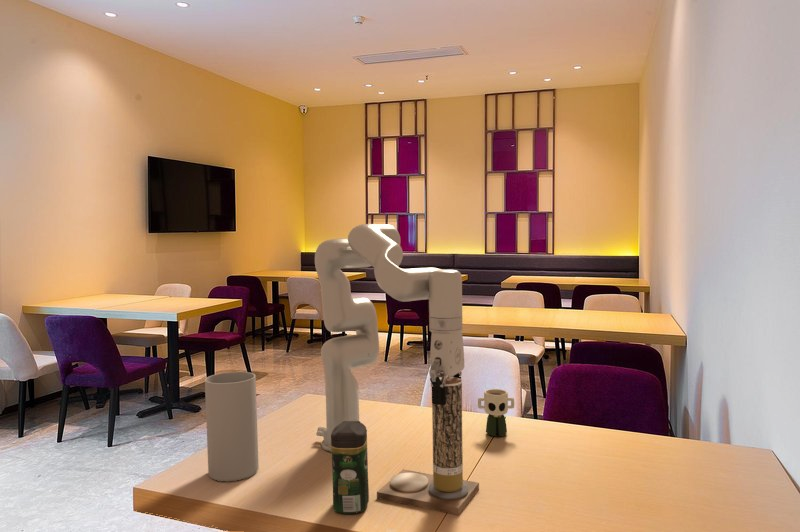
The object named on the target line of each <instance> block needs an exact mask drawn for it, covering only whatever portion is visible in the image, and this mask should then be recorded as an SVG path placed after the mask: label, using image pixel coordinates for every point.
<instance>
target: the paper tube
mask: <svg viewBox="0 0 800 532" xmlns="http://www.w3.org/2000/svg"><path fill="white" fill-rule="evenodd" d="M439 378H440V380H441V379H442V378H441V377H439ZM444 387H446V404H445V405H437V404H432V403H431V405H432V406H431V408H432V409H431V411H432V412H431V413H432V415H431V416H432V473H433V474H432V475H433V484H434V487H435V488H436V489H437V490H439V491H442V492H455V491H458V490H460V489H461V487H462V486H463V480H464V478H463V477H464V476H463V472H464V471H463V468H464V467H463V465H464V462H463V382H462V378H461V379H460V378H457V377H448V376H447V377H446V381H445V385H444Z"/></svg>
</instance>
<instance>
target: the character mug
mask: <svg viewBox="0 0 800 532" xmlns="http://www.w3.org/2000/svg"><path fill="white" fill-rule="evenodd" d="M509 401H510V405H509ZM482 402H483V404H482ZM477 408H478V409H482V410H483V411H484V412H485V413H486V414H488V415H487V418H486V426H485V432H486V434H487V435H489V436H493V437H496V436H497V434H498V436H499V437H503V436H506V435H507V433H508V429H507V423H506V422H507V420H506V416H505V415H506V414H507V413H508V411H509V410H510V409H514V408H515V398H514V397H509V392H508V391H507V390H504V389H500V388H499V389H498V388H490V389H486V390H484V392H483V397H478V398H477Z"/></svg>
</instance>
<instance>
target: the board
mask: <svg viewBox="0 0 800 532" xmlns="http://www.w3.org/2000/svg"><path fill="white" fill-rule="evenodd" d="M479 490H480V482H476V481H472V480H471V481H470V480H466V479H463V486H462V487H461V489H460V490H458V491H455V492H442V491H439V490H437V489H436V488H435V487H434V484H433V474H432V473H426V472H420V471H414V470H410V469H404V468H403V469H402V470H400V471H399V472H398V473H397V474H395V475H393V476H392V477H391V478H390V480H389V481H387V482H386V484H384V485H383V486H382V487H381V488H380V489H378V490H377V491H376V498H377V499H379V500H384V501H388V502H394V503H398V504H404V505H407V506H413V507H418V508H421V509H428V510H431V511H432V510H433V511H437V512H443V513H447V514H452V515H456V516H459V515H460V514H461V512H463V510H464V509H465V508H466V506H467V505H468V504H469V502H470V501H471V500H472V498H473V497H474V496H475V495H476V494H477V492H478V491H479Z"/></svg>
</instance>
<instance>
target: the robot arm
mask: <svg viewBox="0 0 800 532" xmlns="http://www.w3.org/2000/svg"><path fill="white" fill-rule="evenodd" d="M401 243H402V242H401V236H400V233H399V231H398V229H397V228H396V227H394V226H393V225H391V224H387V223H383V224H382V223H378V224H377V223H366V224H359V225H356V226H354V227H353V228H352V229H351V230H350V231H349V233H348V235H347V238H346V237H345V238H331V239H326V240H324V241H322V242H321V243H320V244H318V246H317V248H316V250H315V252H314V265H315V266H314V267H315V271H316V274H317V277H318V280H319V284H320V291H321V292H320V294H321V305H322V317H323V323H324V324H323V325H324V327H325V329H326V330H327V331H328V332H330V333H343V332H351V331H355V334H352V335H344V336H337V337H333V338H330V339H328V340H327V341H325V342H324V343H323V345H322V347H321V349H320V358H321V362H322V369H323V373H324V385H325V386H324V387H325V415H326V417H325V418H326V422H325V423H326V424H325V425H326V427H323V426H318V427H317V430H316V433H315V434H316V436H317V437H323V440H322V441H321V448H322V449H323V450H324V451H327V452H329V453H332V452H331V433H332V431H333V429H334V428H335V427H336V426H337V425H339V424H340V423H342V422H343V421H360V401H359V400H360V397H359V396H360V395H359V394H360V393H359V382H358V380H357V378H356V377H355V375H354V374H353V372H352V370H353V369H357V368H362V367H363V368H364V367H366V366H370V365H374V364H375V363H376V362H378V358H379V356H380V338H379V325H378V317H377V316H378V315H377V311H376V310H377V309H376V307H375V305H374V304H373V302H372V301H371V300H370V299H369V298H367V297H362V296H360V297H359V296H358V297H352V293H351V283H350V280H349V278H348V277H347V275H346V274H345V273H344V272H343V271H342V270H341V269H358V268H369V267H373V268H374V269H373V272H374V278H375V280H376V283H377V285H378V287H379V288H380V289H381V290H382V291H383V292H384V293H386V294H387V295H388V296H390V297H391V298H392V299H394V300H397V301H398V302H404V303H405V302H412V301H413V302H414V301H422V300H423V301H425V300H428V314H429V315H428V318H429V319H428V320H429V321H428V322H429V324H428V325H429V332H431V336H430V356H429V357H430V359H429V360H430V362H429V365H430V367H429V368H430V369H429V371H428V372H429V376H430V378H429V380H430V387H431V405H432V404H437V405H445V404H446V387H444V385H445V381H446V377H447V376H448V377H457V378H460V379H461V380H462V373H463V372H462V371H463V370H464V369H465V352H464V351H465V350H464V338H463V331H464V329H463V324H464V323H463V277H462V273H461V272H460V271H459V270H457V269H441V268H437V267H414V268H412V267H411V268H401V267H399V266H400V265H401V264H402V262H403V261H402V260H403V257H404V252H403V249H402V246H401ZM439 377H441V378H442V379H441V380H440V378H439Z"/></svg>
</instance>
